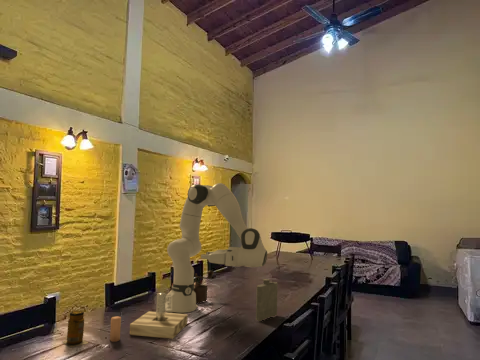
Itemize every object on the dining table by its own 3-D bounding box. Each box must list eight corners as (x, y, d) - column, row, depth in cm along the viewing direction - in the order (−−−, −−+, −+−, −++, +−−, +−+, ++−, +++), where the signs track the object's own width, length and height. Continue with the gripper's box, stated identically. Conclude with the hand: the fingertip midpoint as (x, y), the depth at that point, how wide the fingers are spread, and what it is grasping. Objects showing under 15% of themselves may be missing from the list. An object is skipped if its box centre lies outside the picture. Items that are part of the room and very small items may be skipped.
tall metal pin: (154, 328, 164) (155, 293, 165) (162, 327, 166) (163, 292, 168) (157, 331, 161) (159, 295, 162) (165, 329, 163) (167, 294, 164)
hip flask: (259, 322, 177) (260, 281, 179) (253, 320, 180) (254, 280, 181) (278, 316, 189) (278, 278, 190) (272, 314, 192) (272, 276, 193)
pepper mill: (195, 304, 206) (196, 273, 208) (182, 301, 213) (184, 270, 215) (214, 300, 218) (215, 270, 219) (202, 296, 225) (203, 268, 226)
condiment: (79, 337, 150) (81, 308, 151) (88, 343, 144) (90, 313, 145) (61, 342, 145) (64, 312, 146) (70, 348, 139) (72, 316, 140)
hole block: (148, 320, 175) (148, 311, 175) (187, 323, 172) (187, 314, 172) (129, 334, 155) (130, 324, 156) (173, 338, 152) (173, 327, 152)
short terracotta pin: (108, 339, 149) (109, 317, 150) (118, 337, 152) (119, 315, 152) (111, 342, 146) (112, 319, 147) (121, 340, 148) (122, 318, 149)
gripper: (236, 247, 177) (209, 246, 179) (228, 252, 157) (198, 250, 159) (235, 260, 176) (208, 258, 179) (228, 266, 156) (197, 264, 158)
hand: (203, 255), depth 169 cm, fingers open, 8 cm apart
